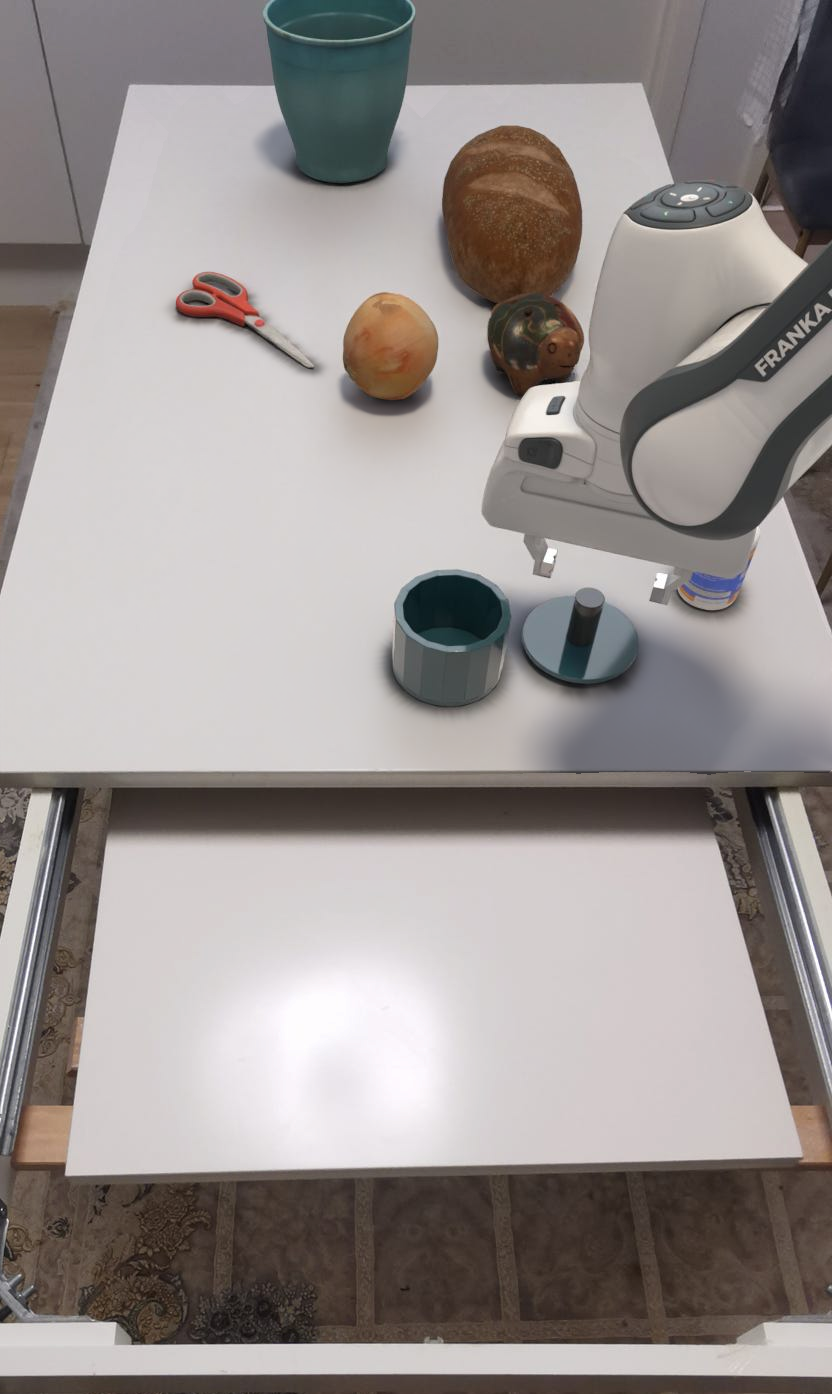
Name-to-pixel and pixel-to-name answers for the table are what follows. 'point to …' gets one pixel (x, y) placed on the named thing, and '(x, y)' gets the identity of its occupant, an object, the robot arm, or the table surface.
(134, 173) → the table surface
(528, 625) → the pot lid
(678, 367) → the robot arm
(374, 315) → the onion
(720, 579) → the pill bottle
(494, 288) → the bread
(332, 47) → the flower pot
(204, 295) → the scissors
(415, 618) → the pot
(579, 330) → the decorative turtle
